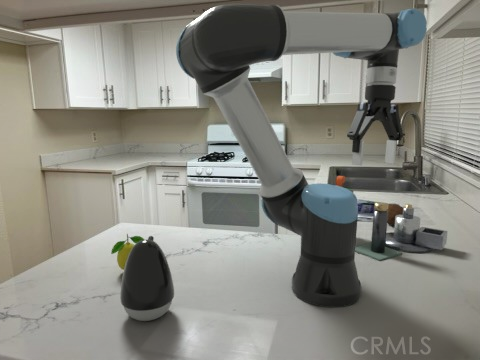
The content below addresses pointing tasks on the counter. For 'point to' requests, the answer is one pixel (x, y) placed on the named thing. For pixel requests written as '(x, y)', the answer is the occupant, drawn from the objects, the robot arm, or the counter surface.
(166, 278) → the black egg-shaped pod
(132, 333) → the counter surface
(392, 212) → the potato
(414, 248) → the base
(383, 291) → the counter surface
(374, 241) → the gold capped bottle
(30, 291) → the counter surface
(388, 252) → the mat
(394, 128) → the robot arm
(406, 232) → the grey cylinder with box
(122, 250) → the lemon
